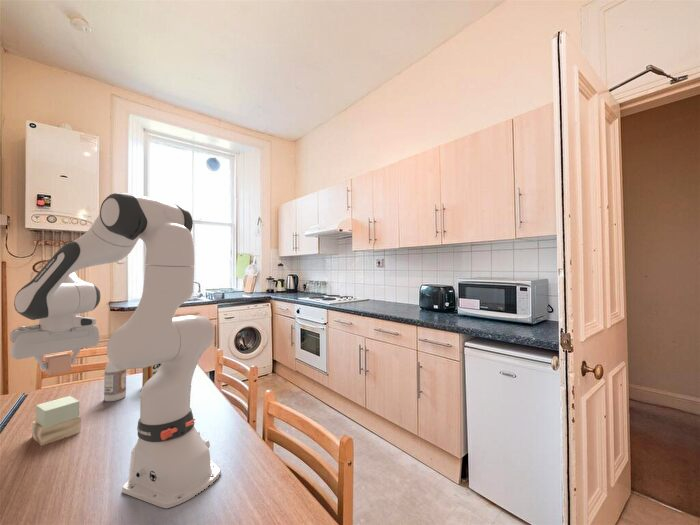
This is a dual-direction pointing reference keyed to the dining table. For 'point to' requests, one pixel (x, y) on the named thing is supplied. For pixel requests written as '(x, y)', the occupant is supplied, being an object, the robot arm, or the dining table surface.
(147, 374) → the baking soda box
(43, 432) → the birch base block
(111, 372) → the bath foam
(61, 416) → the sage middle block
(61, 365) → the terracotta cube
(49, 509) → the dining table surface
